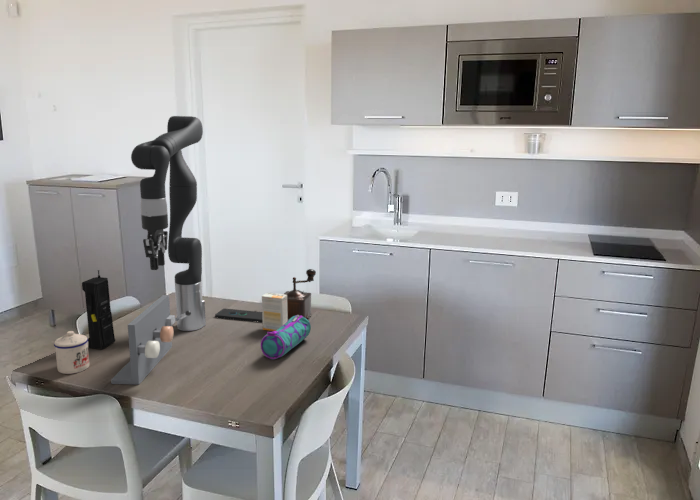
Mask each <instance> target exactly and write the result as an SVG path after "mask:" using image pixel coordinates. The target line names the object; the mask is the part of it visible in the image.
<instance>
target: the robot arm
mask: <svg viewBox="0 0 700 500" xmlns="http://www.w3.org/2000/svg"><path fill="white" fill-rule="evenodd" d="M166 127H167V128H166V129H167V132H165V133H163V134H160V135H159V136H157V137H156V138H155V139H153V140H149V141H146V142H143V143H139V144H138V145H136V146H135V147H134V148H133V149H132V151H131V155H130V160H131V162H132V165H133V166H134V167H135V168H136V169H138V170H147V171H149V170H152V171H154V173H153V175H152V176H149V177H144V178H142V179H141V180H140V182H139V188H140V190H139V191H140V216H141V217H140V218H141V228H142V229H143V230H146V231H147V235H146V238H143V241H142V242H143V243H142V244H143V248H144V253H145V257H146V258H149V265H150V270H151V271H157V270H159V268H160V266H161V267H163V266H165V264H166V263H165V262H166V260H165V259H166V258H165V253H166V251H167V254H168V259H169V261H170V262H171V263H174V264H188V268H187V269H185V270H181V271H179V272H177V273H175V275H174V289H175V290H174V293H175V294H174V295H175V307H176V308H175V309H176V317H178V316H180V315H182V314H184V313H185V312H186V311H188V310H189V311H191V315H190V316H186V317H184V318H182V319H180V320H179V321H176V326H177V329H178V330H179V331H184V332H188V331H189V332H190V331H197V330H200V329H201V328H203V327H204V326H206V325H207V324H206V323H207V322H206V320H207V319H206V303H205V300H204V299H203V289H202V287H203V286H202V284H203V283H202V276H203V275H202V271H203V266H202V265H203V260H202V259H203V257H202V256H203V251H202V250H203V247H202V243H201V240H200V239H199V238H197V237H182V234H183V233H182V232H183V228H184V224H185V222H186V219H187V218H188V216H189V215H190V214H191V212H192V210H193V209H194V208H195V205H196V202H197V199H198V183H197V178H196V177H195V175H194V174H193V172H192V171H191V169H190V167H189V166H188V164H187V163H186V161H185V158H184V156H183V152H182V151H183V150H184V149H185V148H187V147H189V146H191V145H194V144H197V143H199V142H201V140H202V138H203V133H204V131H203V130H204V129H203V124H202V121H201V120H200V118H198V117H196V116H189V115H188V116H186V115H185V116H183V115H172V116H170V117H169V118H168V121H167V125H166ZM168 169H169V187H168V188H169V189H168V190H169V193H168V194H169V212H168V203H167V198H166V195H167V194H166V180H167V174H168ZM168 213H169V215H168ZM168 227H169V229H168V231H167V230H166V229H167V228H168Z"/></svg>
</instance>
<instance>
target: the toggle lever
mask: <svg viewBox="0 0 700 500" xmlns="http://www.w3.org/2000/svg"><path fill="white" fill-rule="evenodd" d="M190 315H191V311H189V310H188V311H186V312H185V313H184V314H182V315H180V316H178V317H177V316H175V322H177V321H179V320H180V319H182V318H184V317H186V316H190Z"/></svg>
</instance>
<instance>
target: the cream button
mask: <svg viewBox="0 0 700 500" xmlns="http://www.w3.org/2000/svg"><path fill="white" fill-rule="evenodd" d="M137 350H138V353H145V356H146V357H147V358H157V357H158V355H159V351H160V344H159V342H158V341H148V342H147V343H146V345H138V346H137Z"/></svg>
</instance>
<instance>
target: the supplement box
mask: <svg viewBox="0 0 700 500" xmlns="http://www.w3.org/2000/svg"><path fill="white" fill-rule="evenodd" d="M261 312H262V319H263V322H262V331H268V332H273V331H276V330H278V329H279V328H280V327H281V326H283V325H284V324H285V323H286V322H287V321H288V313H287V295H284V293H283V294H282V293H275V292H266V293H264V294H262V295H261Z"/></svg>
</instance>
